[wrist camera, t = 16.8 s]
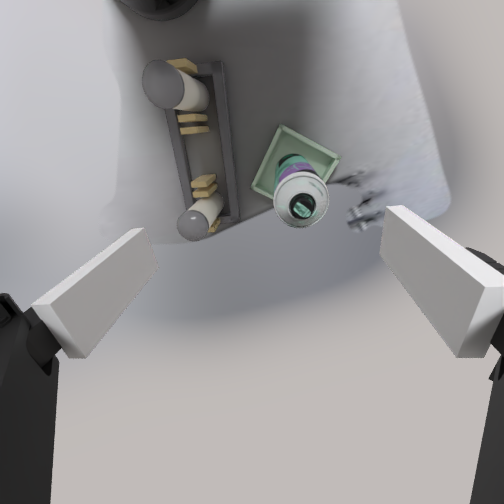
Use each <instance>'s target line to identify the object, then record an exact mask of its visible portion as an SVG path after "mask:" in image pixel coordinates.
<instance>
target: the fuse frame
mask: <svg viewBox="0 0 504 504" xmlns="http://www.w3.org/2000/svg"><path fill="white" fill-rule="evenodd" d="M167 62H168V63H169V64H171V65H173V66H174V67H175V68H176V69H178V70H180V71H182V72H184V73H185V74H187V75H189V76H191V77H193V78H196V77H204V76H213V84H214V91H215V99H216V107H217V114H218V122H219V130H220V137H221V145H222V153H223V160H224V168H225V176H226V184H227V191H228V199H229V207H230V214H219V215H218V216H217V218H216V219H215V221H214V222H213V224H212V225H211V227H210V228H209V230H208V232H215V231H216V229H217V227H218V226H219V224H220V223H236V222H240V211H239V202H238V193H237V184H236V175H235V166H234V157H233V148H232V139H231V130H230V121H229V112H228V103H227V94H226V85H225V76H224V67H223V63H222V62H221V61H217V62H209V63H201V64H193V63H192V62H190V61H189V60H188V59H186V58H181V59H174V60H167ZM165 112H166V117H167V122H168V126H169V131H170V136H171V140H172V145H173V150H174V154H175V159H176V163H177V168H178V173H179V177H180V182H181V187H182V191H183V196H184V200H185V205H186V210H188V209H189V208H190V207H191V206H192V205H194V204H195V203H196V201H195V198H196V197H209V196H210V195H211V194H212V193H213V192H214V191H215V190H216V189H217V188H218V187H217V183H212V182H213V181H214V180H215V179H216V174H208V175H201V176H199V177H198V178H196V179H195V180H193V181H192V180H191V175H190V170H189V165H188V160H187V155H186V150H185V144H184V139H183V134H194V133H204V132H209V126H196V127H186V128H181V124H180V122H190V123H193V122H203V121H208V120H207V115H202V114H186V115H179V114H178V109H165ZM196 187H199V188H198V189H196V190H195V191H193V188H196Z"/></svg>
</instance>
